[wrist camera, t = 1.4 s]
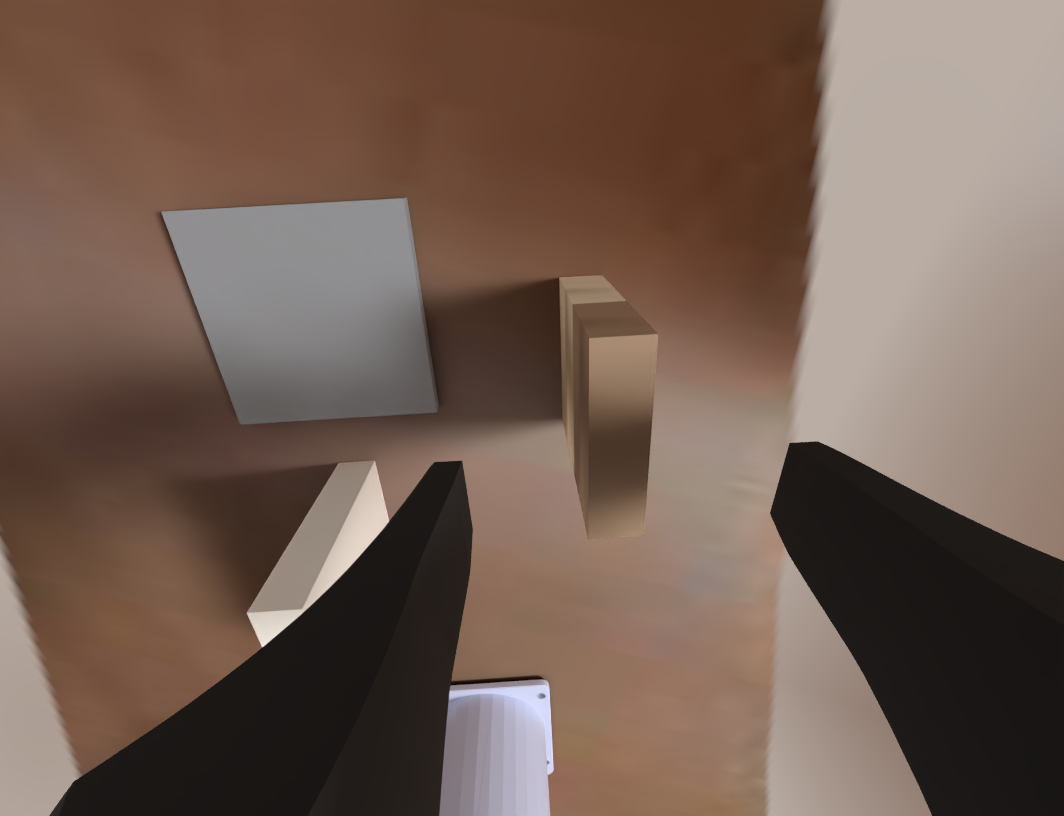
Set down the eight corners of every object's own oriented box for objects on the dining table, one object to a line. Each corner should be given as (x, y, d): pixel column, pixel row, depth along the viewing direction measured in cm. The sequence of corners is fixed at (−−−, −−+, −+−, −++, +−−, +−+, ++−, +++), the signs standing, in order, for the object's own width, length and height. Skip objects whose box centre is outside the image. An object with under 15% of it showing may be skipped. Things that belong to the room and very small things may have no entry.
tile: (408, 603, 25) (366, 777, 17) (375, 605, 25) (319, 781, 17) (374, 460, 21) (301, 609, 13) (335, 462, 21) (241, 613, 13)
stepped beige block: (599, 416, 20) (643, 535, 13) (562, 419, 20) (588, 539, 13) (601, 274, 17) (658, 333, 11) (559, 277, 17) (589, 338, 11)
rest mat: (439, 406, 20) (436, 412, 19) (247, 417, 19) (240, 424, 19) (406, 197, 16) (403, 198, 15) (173, 210, 16) (161, 211, 15)
